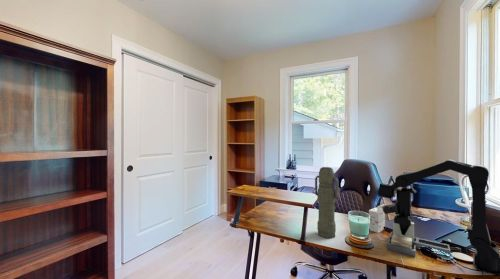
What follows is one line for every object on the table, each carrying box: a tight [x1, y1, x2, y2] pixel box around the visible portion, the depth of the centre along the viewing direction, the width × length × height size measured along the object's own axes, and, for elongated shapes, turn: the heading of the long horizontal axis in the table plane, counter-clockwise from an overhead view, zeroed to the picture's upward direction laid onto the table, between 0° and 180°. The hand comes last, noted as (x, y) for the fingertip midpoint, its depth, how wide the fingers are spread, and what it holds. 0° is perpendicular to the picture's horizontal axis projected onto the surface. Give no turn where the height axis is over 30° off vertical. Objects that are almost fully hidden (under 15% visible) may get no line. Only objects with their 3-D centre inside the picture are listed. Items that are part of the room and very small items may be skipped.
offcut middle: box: [391, 239, 411, 249], centre depth 97 cm, size 7×4×2 cm, turn 52°
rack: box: [386, 231, 451, 258], centre depth 97 cm, size 22×17×4 cm
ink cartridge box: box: [368, 203, 386, 233], centre depth 119 cm, size 9×5×15 cm, turn 126°
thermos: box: [314, 166, 340, 239], centre depth 114 cm, size 9×12×35 cm
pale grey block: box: [392, 218, 415, 241], centre depth 104 cm, size 8×2×10 cm, turn 52°
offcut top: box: [392, 234, 412, 246], centre depth 97 cm, size 7×4×2 cm, turn 52°
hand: (403, 233), depth 104 cm, fingers closed on pale grey block, 2 cm apart
